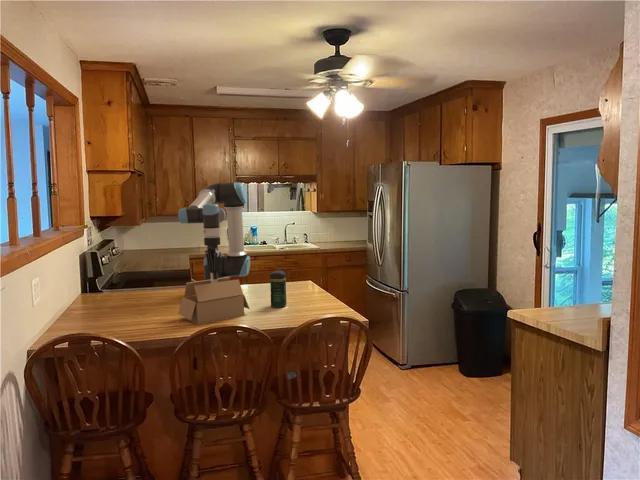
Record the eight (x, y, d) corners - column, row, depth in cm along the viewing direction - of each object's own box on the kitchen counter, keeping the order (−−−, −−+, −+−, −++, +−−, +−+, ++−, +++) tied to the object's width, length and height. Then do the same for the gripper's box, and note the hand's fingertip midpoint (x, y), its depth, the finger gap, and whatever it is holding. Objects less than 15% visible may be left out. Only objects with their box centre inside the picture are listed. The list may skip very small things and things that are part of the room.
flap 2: (198, 302, 234) (193, 286, 236) (242, 294, 247) (238, 279, 249) (198, 301, 233) (194, 285, 236) (243, 294, 247) (238, 279, 249)
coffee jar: (284, 308, 261) (283, 272, 259) (269, 308, 262) (268, 272, 260) (288, 303, 271) (287, 269, 269) (273, 303, 272) (272, 269, 270)
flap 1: (183, 295, 247) (186, 282, 243) (226, 288, 261) (229, 276, 257) (184, 296, 247) (186, 283, 243) (227, 289, 260) (230, 277, 256)
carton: (177, 319, 245) (176, 298, 244) (235, 308, 264) (234, 288, 262) (191, 326, 233) (189, 304, 232) (250, 314, 251) (249, 293, 250)
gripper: (199, 236, 245) (201, 284, 248) (210, 238, 235) (212, 288, 237) (213, 235, 250) (215, 282, 252) (225, 237, 239) (227, 286, 242)
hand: (214, 285), depth 245 cm, fingers closed
